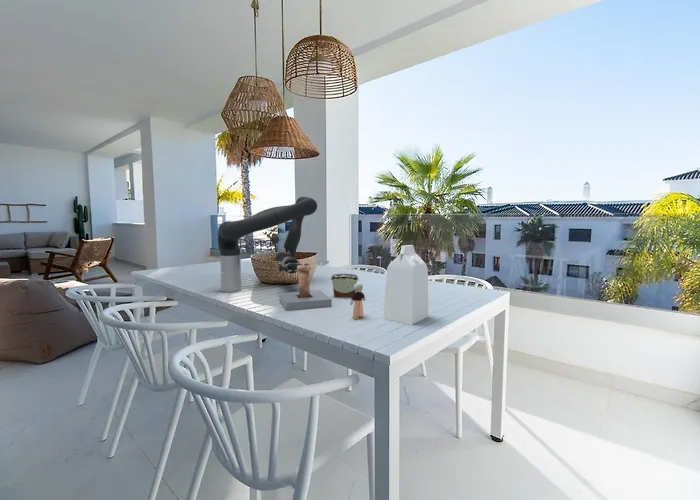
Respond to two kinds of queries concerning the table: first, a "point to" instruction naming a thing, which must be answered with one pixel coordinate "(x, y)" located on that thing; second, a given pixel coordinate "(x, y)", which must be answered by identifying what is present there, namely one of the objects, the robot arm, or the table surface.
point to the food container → (344, 285)
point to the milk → (406, 288)
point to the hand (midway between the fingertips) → (296, 269)
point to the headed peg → (304, 281)
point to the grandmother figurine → (358, 301)
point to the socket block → (304, 300)
